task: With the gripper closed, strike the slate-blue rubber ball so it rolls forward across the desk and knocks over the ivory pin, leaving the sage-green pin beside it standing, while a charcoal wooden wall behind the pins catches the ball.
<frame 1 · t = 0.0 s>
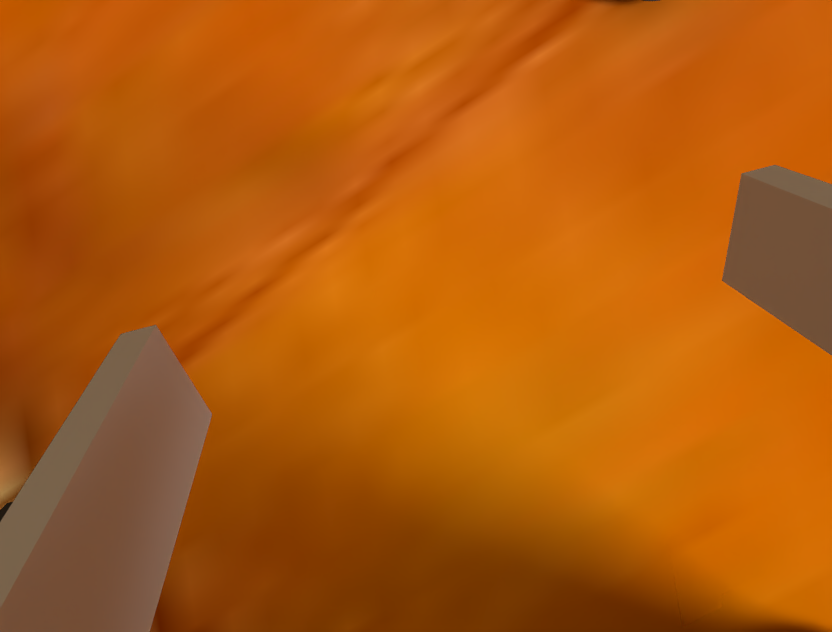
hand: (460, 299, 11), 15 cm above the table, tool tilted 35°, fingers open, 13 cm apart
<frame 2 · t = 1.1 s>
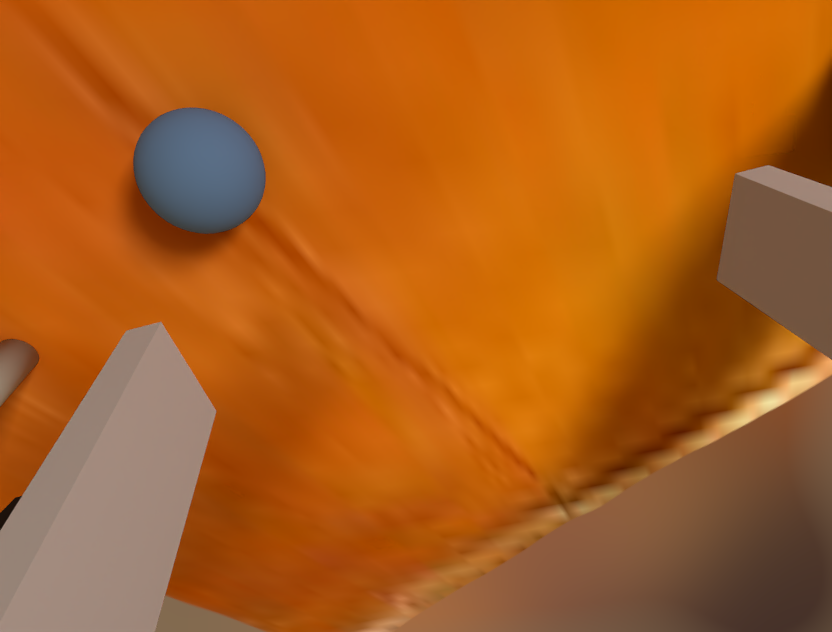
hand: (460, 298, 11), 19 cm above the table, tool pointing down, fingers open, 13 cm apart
sage pin: (17, 354, 31), on the table
ball: (202, 172, 24), on the table
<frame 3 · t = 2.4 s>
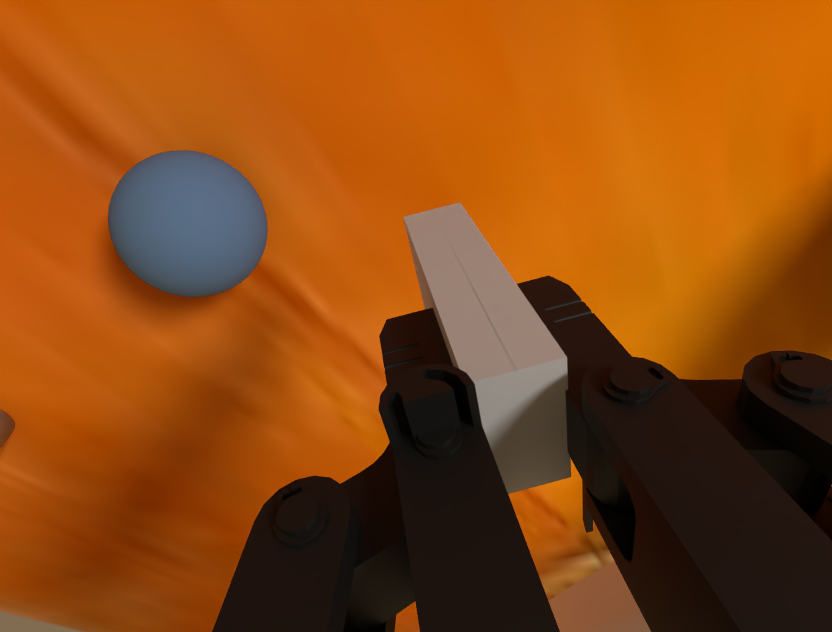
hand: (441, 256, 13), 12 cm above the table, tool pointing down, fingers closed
ball: (192, 225, 20), on the table
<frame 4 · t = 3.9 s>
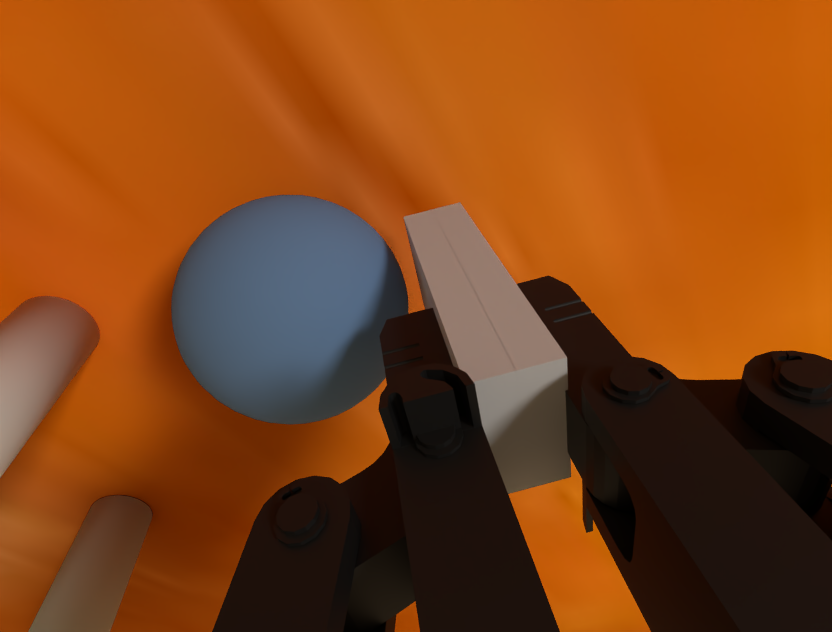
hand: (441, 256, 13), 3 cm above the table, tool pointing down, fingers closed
sage pin: (121, 513, 20), on the table
ivory pin: (57, 328, 15), on the table
ball: (296, 309, 13), on the table
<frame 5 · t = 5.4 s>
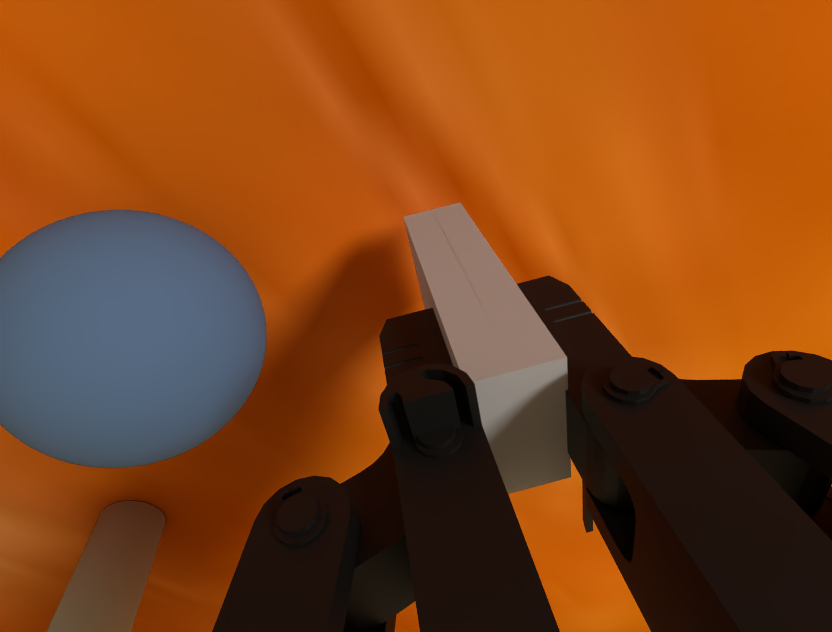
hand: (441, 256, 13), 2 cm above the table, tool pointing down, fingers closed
sage pin: (133, 520, 19), on the table
ball: (136, 337, 11), on the table
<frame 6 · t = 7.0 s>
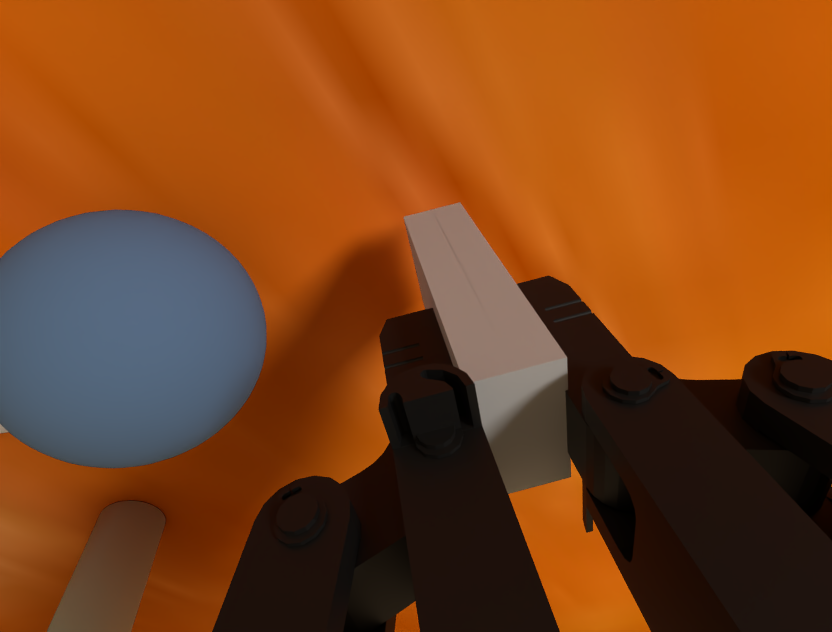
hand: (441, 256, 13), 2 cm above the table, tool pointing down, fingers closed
sage pin: (133, 520, 19), on the table
ball: (136, 337, 11), on the table
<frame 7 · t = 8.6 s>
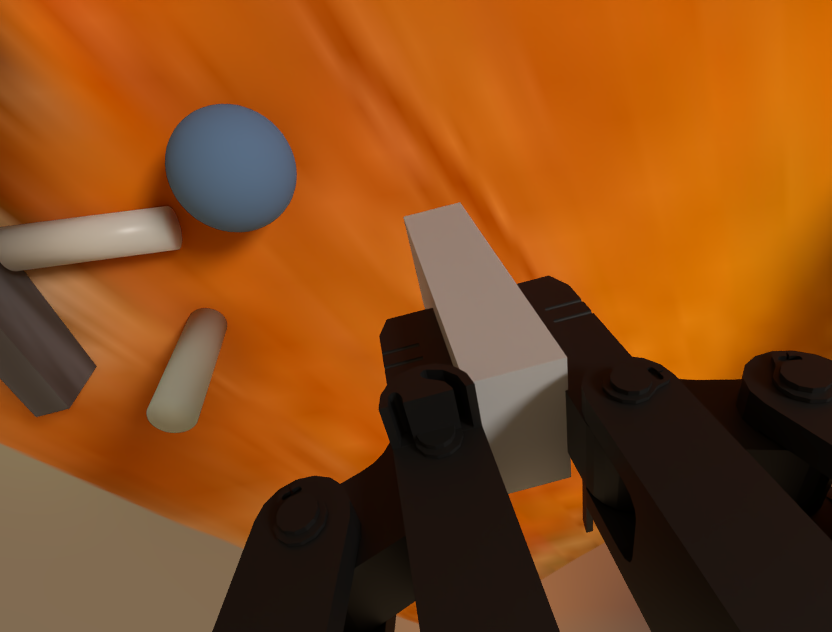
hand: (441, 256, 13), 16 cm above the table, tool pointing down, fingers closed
sage pin: (207, 323, 31), on the table
ivory pin: (172, 227, 26), point 1 cm above the table, tilted 90°
ball: (233, 170, 23), on the table
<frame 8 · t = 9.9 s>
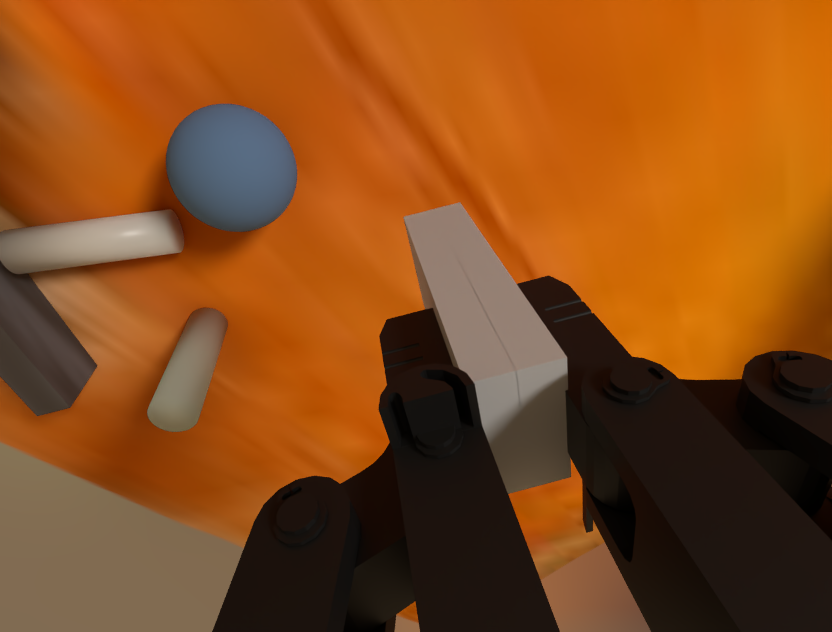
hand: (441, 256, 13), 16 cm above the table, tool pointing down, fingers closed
sage pin: (208, 323, 31), on the table
ivory pin: (175, 231, 27), point 1 cm above the table, tilted 90°
ball: (234, 170, 24), on the table
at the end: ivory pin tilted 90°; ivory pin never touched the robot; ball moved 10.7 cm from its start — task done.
